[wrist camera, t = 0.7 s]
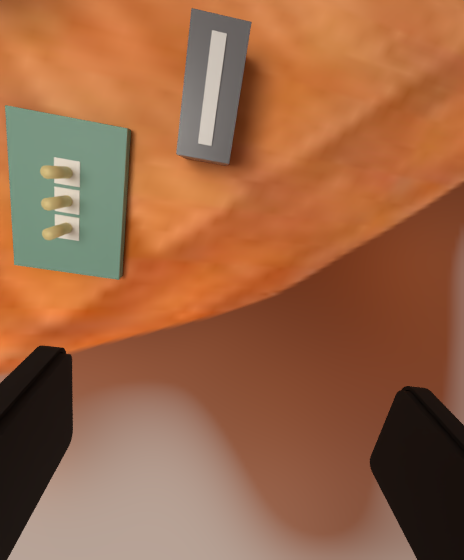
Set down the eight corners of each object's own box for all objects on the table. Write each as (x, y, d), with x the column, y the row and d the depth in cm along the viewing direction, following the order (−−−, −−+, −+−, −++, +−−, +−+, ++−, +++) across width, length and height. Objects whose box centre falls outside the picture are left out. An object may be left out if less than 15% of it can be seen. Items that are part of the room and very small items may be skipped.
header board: (14, 108, 27) (-27, 94, 22) (130, 130, 28) (114, 121, 23) (21, 261, 31) (-11, 276, 27) (122, 275, 32) (106, 292, 28)
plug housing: (197, 44, 26) (191, 6, 20) (244, 55, 26) (251, 20, 20) (184, 158, 29) (175, 154, 23) (226, 165, 29) (229, 164, 23)
